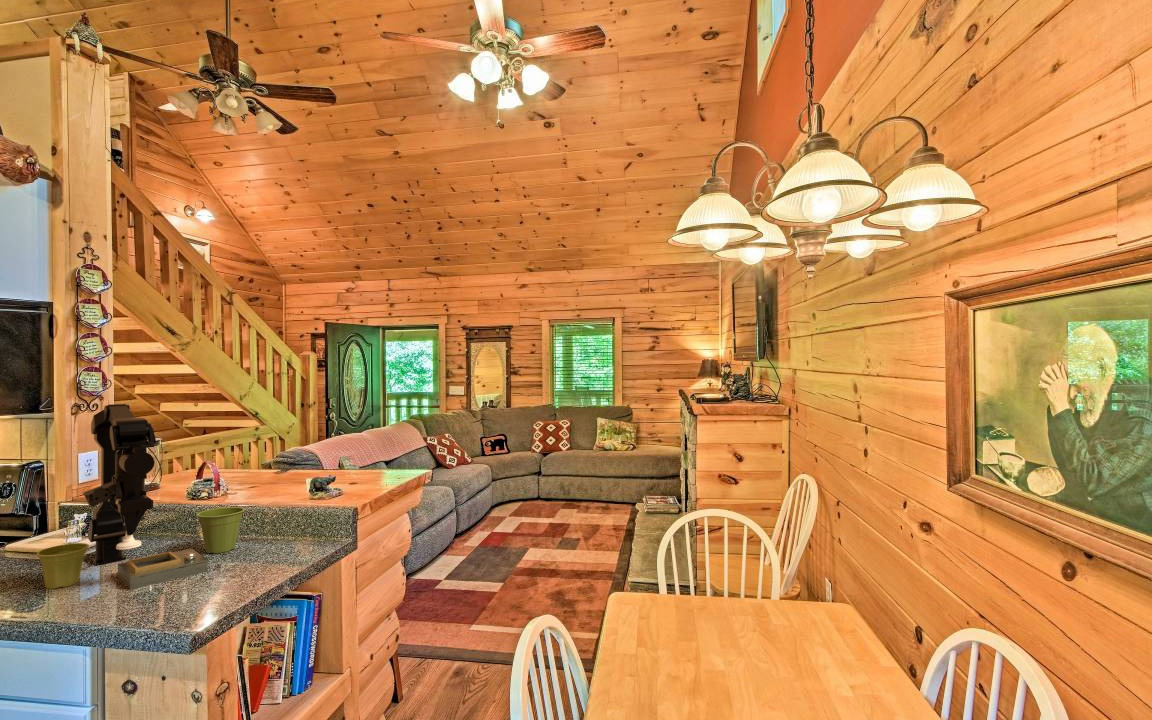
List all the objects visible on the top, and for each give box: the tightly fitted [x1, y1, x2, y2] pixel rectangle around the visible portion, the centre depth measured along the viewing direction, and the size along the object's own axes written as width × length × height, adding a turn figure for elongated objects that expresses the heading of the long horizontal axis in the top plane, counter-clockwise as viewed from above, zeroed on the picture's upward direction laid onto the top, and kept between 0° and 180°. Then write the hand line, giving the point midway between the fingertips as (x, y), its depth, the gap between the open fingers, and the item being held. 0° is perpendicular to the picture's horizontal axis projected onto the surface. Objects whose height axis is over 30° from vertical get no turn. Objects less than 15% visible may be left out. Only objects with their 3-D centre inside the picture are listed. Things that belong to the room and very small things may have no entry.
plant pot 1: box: [36, 542, 90, 590], centre depth 135 cm, size 9×9×9 cm
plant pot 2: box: [196, 506, 246, 554], centre depth 161 cm, size 12×12×11 cm
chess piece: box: [116, 523, 142, 550], centre depth 136 cm, size 5×5×10 cm
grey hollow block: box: [117, 548, 209, 590], centre depth 142 cm, size 14×16×5 cm
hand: (129, 534), depth 136 cm, fingers closed on chess piece
